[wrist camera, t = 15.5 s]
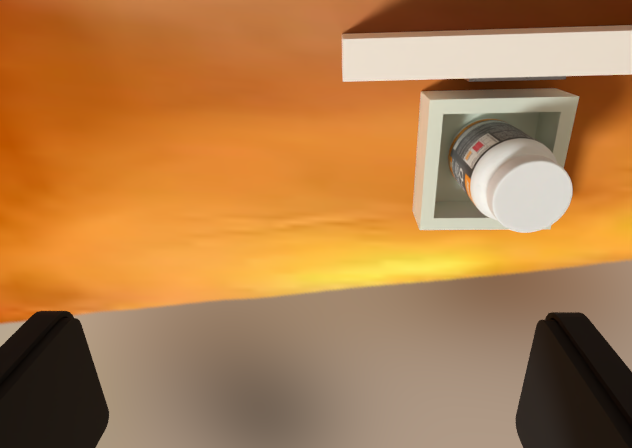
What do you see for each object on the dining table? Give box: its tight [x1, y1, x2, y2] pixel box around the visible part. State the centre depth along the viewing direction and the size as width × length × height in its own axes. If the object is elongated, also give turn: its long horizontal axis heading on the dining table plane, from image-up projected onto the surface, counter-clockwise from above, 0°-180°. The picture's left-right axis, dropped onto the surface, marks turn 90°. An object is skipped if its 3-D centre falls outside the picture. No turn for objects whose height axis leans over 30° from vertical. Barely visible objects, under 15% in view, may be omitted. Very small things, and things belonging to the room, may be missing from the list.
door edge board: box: [342, 25, 632, 82], centre depth 29 cm, size 3×22×7 cm, turn 92°
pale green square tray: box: [413, 88, 579, 230], centre depth 34 cm, size 10×10×4 cm
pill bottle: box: [447, 118, 573, 233], centre depth 31 cm, size 6×6×10 cm
